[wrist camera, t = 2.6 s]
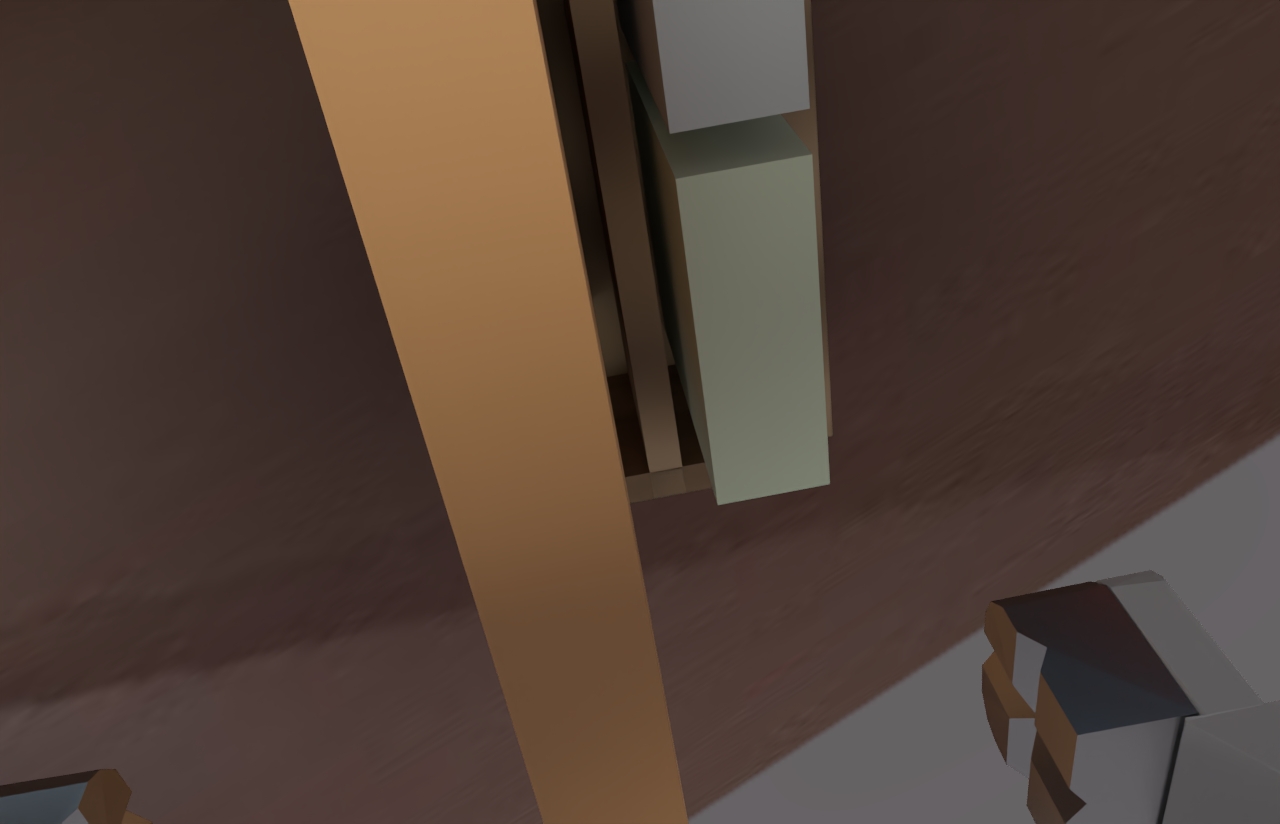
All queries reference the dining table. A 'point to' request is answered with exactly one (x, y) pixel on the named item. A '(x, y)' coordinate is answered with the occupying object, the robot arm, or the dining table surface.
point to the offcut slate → (719, 58)
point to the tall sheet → (505, 375)
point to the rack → (635, 242)
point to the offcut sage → (739, 293)
